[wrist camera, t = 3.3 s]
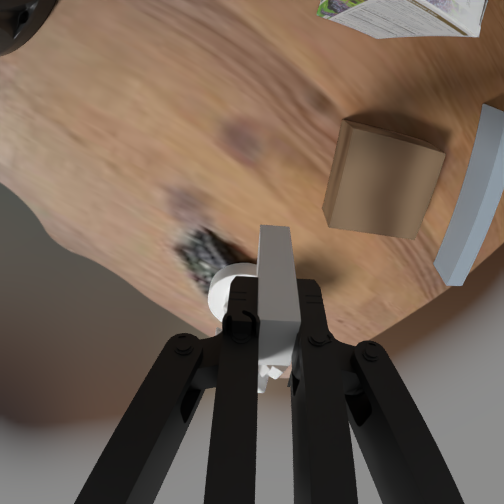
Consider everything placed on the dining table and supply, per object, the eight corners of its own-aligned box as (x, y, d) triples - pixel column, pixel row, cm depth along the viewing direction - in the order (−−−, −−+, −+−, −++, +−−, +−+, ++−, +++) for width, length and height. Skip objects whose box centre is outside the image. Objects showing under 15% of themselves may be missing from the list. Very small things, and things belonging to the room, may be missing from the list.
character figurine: (294, 304, 37) (302, 391, 28) (226, 327, 40) (218, 409, 30) (261, 251, 33) (261, 342, 23) (188, 281, 36) (166, 367, 26)
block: (321, 206, 30) (328, 227, 27) (341, 118, 25) (353, 128, 22) (400, 219, 31) (414, 240, 27) (425, 140, 25) (445, 153, 22)
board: (433, 264, 33) (446, 285, 30) (482, 103, 22) (506, 112, 19) (448, 265, 33) (461, 285, 30) (498, 110, 22) (521, 120, 19)
